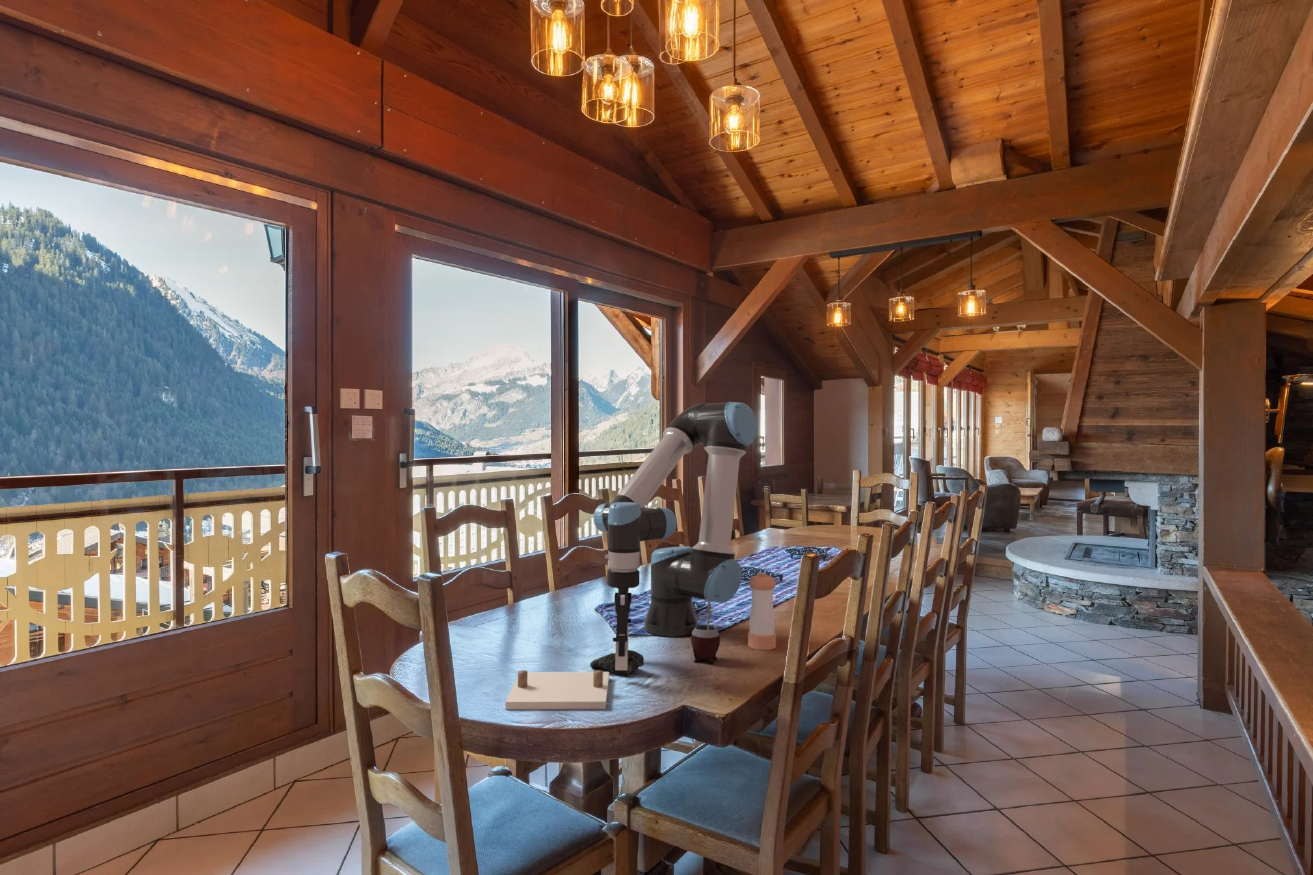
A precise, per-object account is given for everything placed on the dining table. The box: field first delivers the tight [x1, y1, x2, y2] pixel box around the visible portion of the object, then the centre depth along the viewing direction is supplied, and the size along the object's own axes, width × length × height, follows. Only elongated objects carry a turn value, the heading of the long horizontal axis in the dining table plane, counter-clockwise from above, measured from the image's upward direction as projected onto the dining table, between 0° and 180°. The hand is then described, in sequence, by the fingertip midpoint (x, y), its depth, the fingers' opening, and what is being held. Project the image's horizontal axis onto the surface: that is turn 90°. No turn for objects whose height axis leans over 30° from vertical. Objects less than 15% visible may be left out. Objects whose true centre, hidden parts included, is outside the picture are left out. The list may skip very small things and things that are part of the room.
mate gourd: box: [690, 594, 721, 666], centre depth 167 cm, size 8×8×15 cm
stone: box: [589, 649, 645, 677], centre depth 159 cm, size 7×13×5 cm, turn 69°
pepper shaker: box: [747, 571, 777, 651], centre depth 178 cm, size 7×7×19 cm
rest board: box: [504, 669, 610, 710], centre depth 145 cm, size 20×17×4 cm
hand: (621, 660), depth 159 cm, fingers open, 13 cm apart
